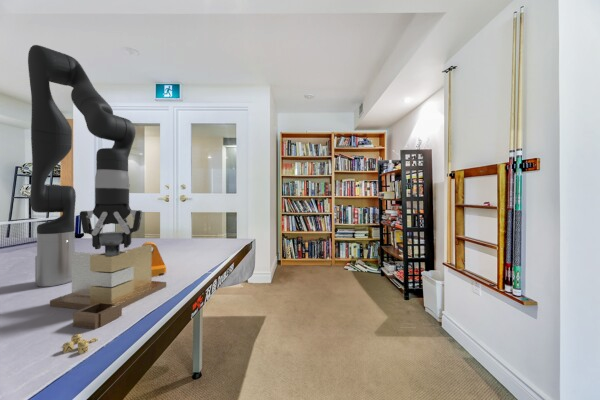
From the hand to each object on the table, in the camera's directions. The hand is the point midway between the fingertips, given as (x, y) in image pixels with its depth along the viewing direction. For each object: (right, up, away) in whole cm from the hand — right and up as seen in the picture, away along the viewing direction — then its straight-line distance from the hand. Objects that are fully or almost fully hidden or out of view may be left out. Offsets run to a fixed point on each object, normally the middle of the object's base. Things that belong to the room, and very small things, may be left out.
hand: (112, 247), depth 68 cm
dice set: (+9, -16, -20) cm, 27 cm away
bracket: (-5, -15, +25) cm, 30 cm away
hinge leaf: (-5, -13, +1) cm, 14 cm away
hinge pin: (0, -10, 0) cm, 10 cm away
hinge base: (-2, -15, +1) cm, 16 cm away
